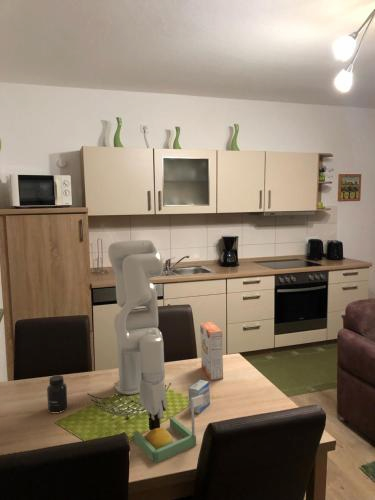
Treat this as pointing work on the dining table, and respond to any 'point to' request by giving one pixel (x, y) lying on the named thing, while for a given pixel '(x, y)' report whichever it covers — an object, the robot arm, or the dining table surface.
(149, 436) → the bread roll
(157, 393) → the robot arm
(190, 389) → the medicine box
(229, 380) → the dining table surface
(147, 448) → the green u-shaped frame
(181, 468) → the dining table surface
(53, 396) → the supplement bottle
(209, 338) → the cracker box
